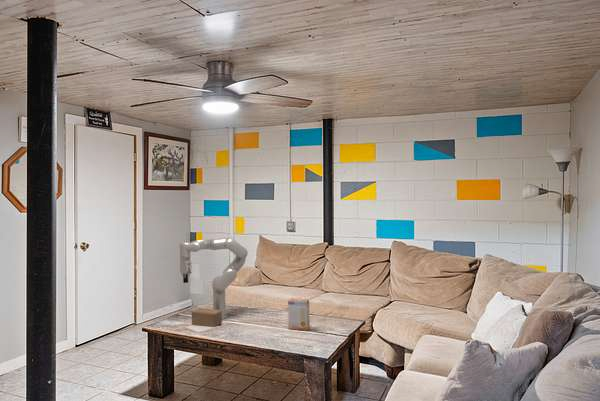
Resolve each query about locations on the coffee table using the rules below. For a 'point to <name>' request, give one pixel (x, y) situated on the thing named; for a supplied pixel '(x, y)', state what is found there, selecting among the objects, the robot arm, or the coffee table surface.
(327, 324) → the coffee table surface
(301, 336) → the coffee table surface
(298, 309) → the cracker box
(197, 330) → the mat
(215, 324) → the wooden block
